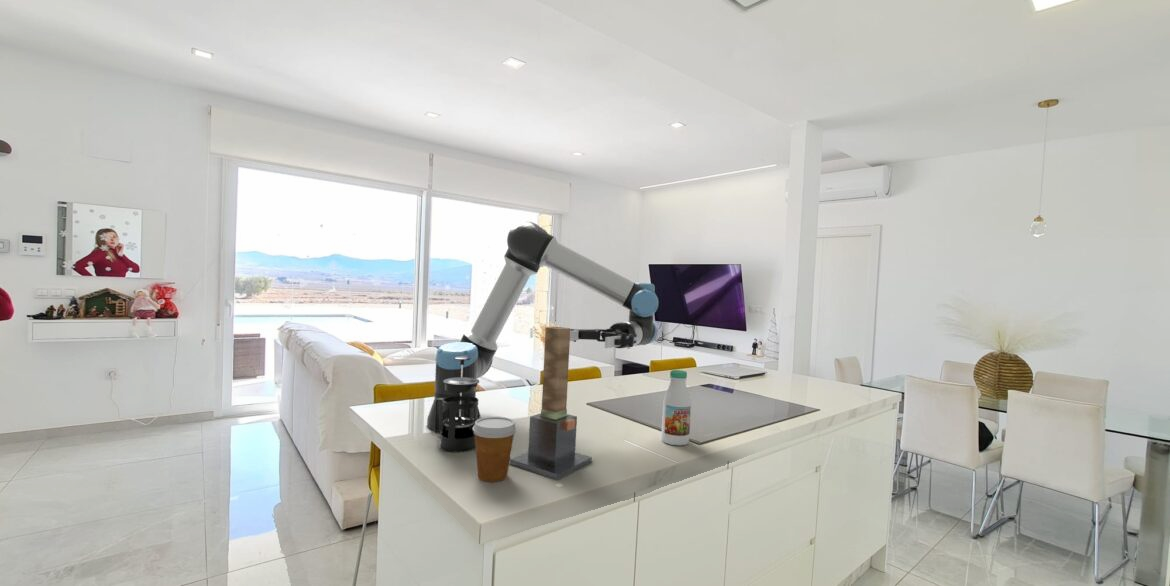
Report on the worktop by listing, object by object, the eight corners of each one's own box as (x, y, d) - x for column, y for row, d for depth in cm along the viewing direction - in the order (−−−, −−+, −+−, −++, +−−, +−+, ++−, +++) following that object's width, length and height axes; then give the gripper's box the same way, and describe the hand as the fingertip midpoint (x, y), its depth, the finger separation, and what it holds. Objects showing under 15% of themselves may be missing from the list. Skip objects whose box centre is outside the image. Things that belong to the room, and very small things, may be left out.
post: (540, 428, 116) (545, 327, 115) (551, 424, 120) (556, 326, 119) (554, 431, 114) (560, 329, 113) (565, 427, 117) (570, 328, 117)
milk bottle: (655, 440, 138) (659, 369, 137) (672, 435, 143) (676, 367, 143) (677, 448, 132) (681, 374, 132) (694, 443, 137) (698, 372, 137)
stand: (509, 464, 115) (511, 416, 115) (546, 448, 127) (548, 405, 126) (557, 479, 107) (559, 429, 107) (591, 461, 119) (594, 416, 119)
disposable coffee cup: (462, 474, 108) (464, 420, 107) (498, 464, 114) (500, 413, 114) (486, 489, 101) (488, 431, 100) (523, 477, 107) (525, 423, 107)
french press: (485, 442, 129) (489, 355, 128) (470, 454, 120) (474, 361, 119) (444, 437, 131) (447, 352, 131) (426, 449, 122) (430, 357, 121)
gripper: (662, 353, 137) (624, 360, 120) (588, 342, 152) (545, 347, 134) (664, 326, 137) (626, 330, 120) (590, 318, 151) (547, 320, 134)
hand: (584, 339), depth 127 cm, fingers open, 13 cm apart
